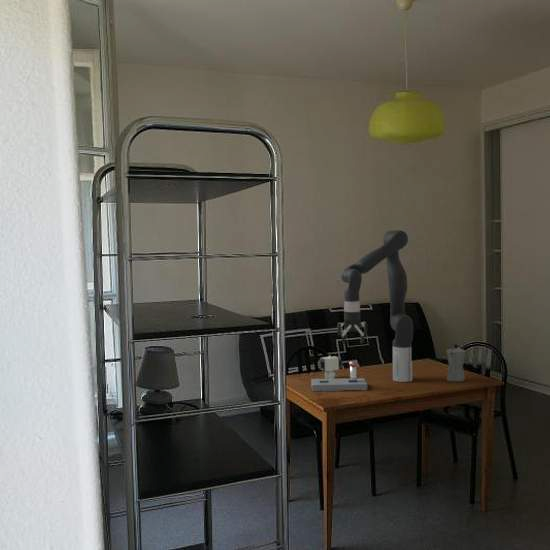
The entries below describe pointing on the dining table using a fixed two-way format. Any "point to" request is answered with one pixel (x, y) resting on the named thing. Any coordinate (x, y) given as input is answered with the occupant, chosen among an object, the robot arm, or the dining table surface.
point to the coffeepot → (455, 364)
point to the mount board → (338, 384)
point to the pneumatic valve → (329, 365)
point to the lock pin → (353, 370)
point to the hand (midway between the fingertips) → (352, 343)
